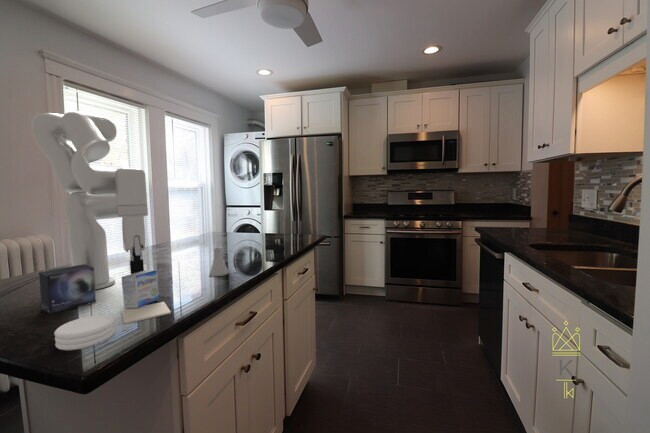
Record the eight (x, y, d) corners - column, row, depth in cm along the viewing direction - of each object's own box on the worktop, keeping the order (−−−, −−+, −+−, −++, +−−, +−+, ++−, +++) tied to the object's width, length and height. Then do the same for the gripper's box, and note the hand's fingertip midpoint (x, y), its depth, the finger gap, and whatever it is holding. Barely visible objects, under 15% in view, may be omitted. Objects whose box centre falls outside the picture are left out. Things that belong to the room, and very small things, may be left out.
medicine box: (137, 308, 81) (135, 275, 81) (123, 308, 82) (120, 276, 82) (159, 299, 89) (157, 269, 89) (146, 299, 90) (143, 269, 90)
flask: (225, 276, 112) (224, 249, 112) (205, 277, 112) (204, 250, 112) (231, 271, 120) (230, 246, 119) (213, 272, 120) (211, 246, 119)
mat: (121, 311, 81) (121, 310, 81) (164, 303, 87) (163, 301, 86) (124, 324, 73) (124, 322, 73) (170, 313, 79) (170, 311, 79)
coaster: (92, 327, 72) (91, 312, 72) (125, 332, 69) (124, 316, 69) (43, 348, 63) (41, 331, 62) (79, 354, 60) (77, 337, 60)
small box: (49, 315, 79) (46, 275, 78) (40, 310, 83) (37, 271, 82) (97, 302, 88) (94, 266, 87) (87, 298, 92) (84, 263, 91)
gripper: (115, 211, 94) (120, 270, 95) (119, 213, 82) (124, 281, 83) (144, 209, 98) (148, 266, 99) (151, 211, 86) (156, 276, 88)
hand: (137, 273), depth 91 cm, fingers closed
